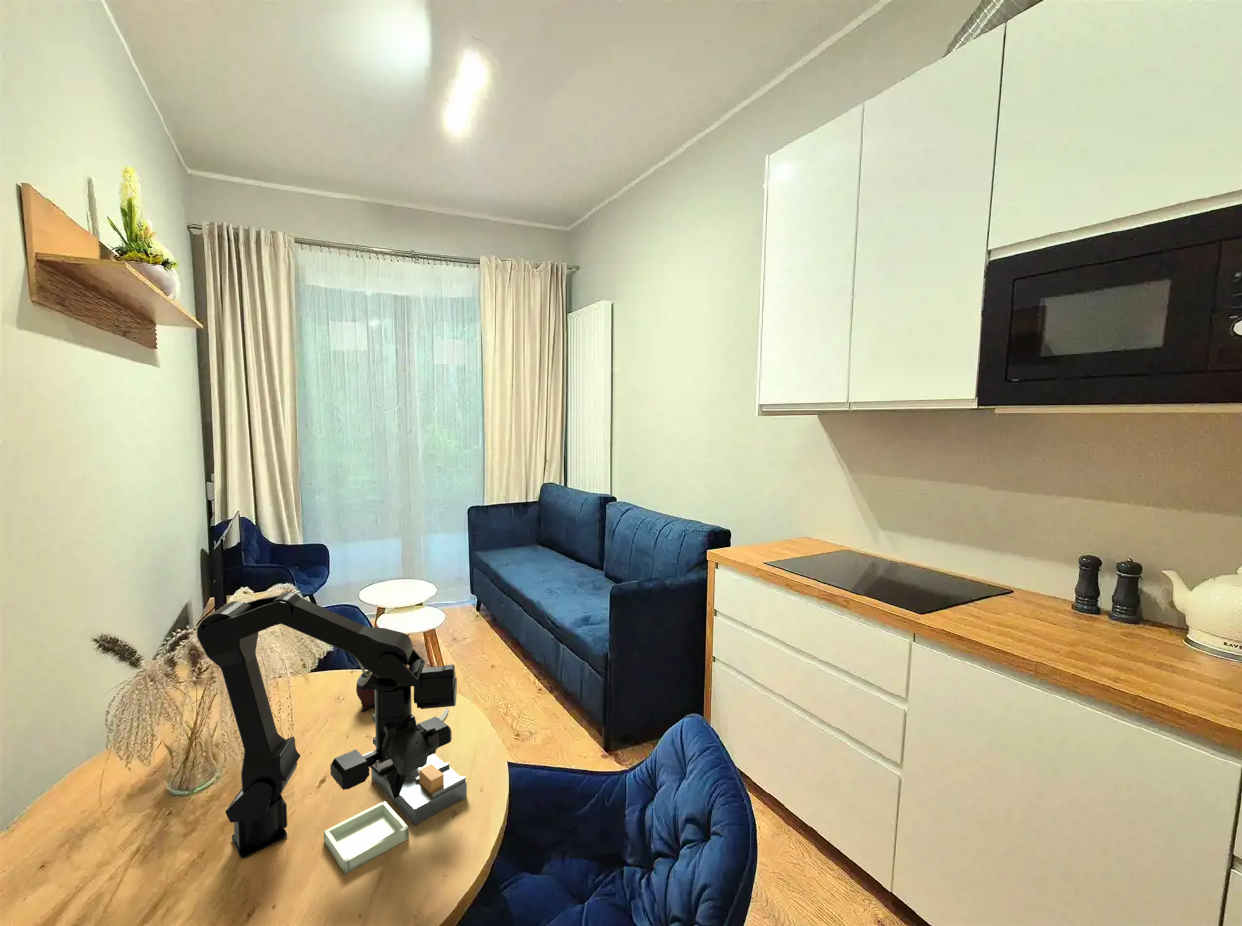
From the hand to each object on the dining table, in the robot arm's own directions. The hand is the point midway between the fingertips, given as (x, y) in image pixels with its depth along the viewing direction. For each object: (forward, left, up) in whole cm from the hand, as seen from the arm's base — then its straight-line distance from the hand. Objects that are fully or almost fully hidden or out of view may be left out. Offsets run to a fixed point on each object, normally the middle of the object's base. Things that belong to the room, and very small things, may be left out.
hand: (395, 797), depth 94 cm
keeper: (+7, 0, -1) cm, 7 cm away
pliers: (+17, +24, -5) cm, 30 cm away
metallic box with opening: (+7, +5, -4) cm, 10 cm away
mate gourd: (+13, +41, -5) cm, 43 cm away
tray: (-5, -1, -4) cm, 7 cm away
